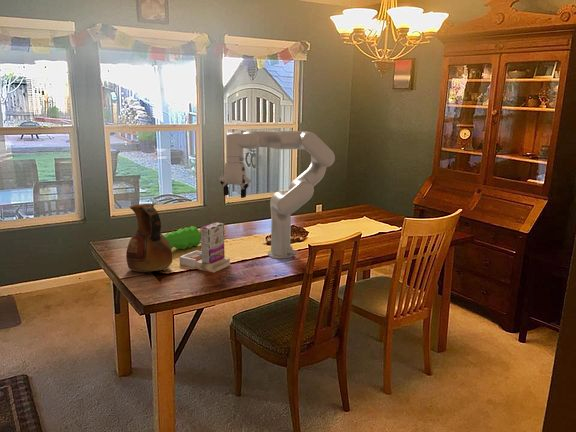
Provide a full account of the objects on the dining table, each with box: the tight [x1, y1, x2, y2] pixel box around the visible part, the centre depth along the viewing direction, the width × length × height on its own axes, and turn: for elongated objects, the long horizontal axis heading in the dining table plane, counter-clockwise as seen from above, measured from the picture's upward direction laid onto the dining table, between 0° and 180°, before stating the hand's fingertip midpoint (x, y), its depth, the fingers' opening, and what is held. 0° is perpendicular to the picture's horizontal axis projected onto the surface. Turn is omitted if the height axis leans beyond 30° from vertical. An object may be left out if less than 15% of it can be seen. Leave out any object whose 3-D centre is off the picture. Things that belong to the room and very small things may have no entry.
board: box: [195, 257, 231, 273], centre depth 232 cm, size 10×12×3 cm
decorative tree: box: [163, 225, 201, 250], centre depth 257 cm, size 11×12×30 cm
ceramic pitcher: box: [125, 203, 173, 273], centre depth 224 cm, size 20×20×30 cm
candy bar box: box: [200, 221, 226, 264], centre depth 230 cm, size 11×5×16 cm, turn 150°
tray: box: [178, 250, 202, 269], centre depth 237 cm, size 9×12×4 cm
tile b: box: [190, 255, 200, 262], centre depth 234 cm, size 4×4×2 cm
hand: (234, 196), depth 239 cm, fingers open, 9 cm apart
